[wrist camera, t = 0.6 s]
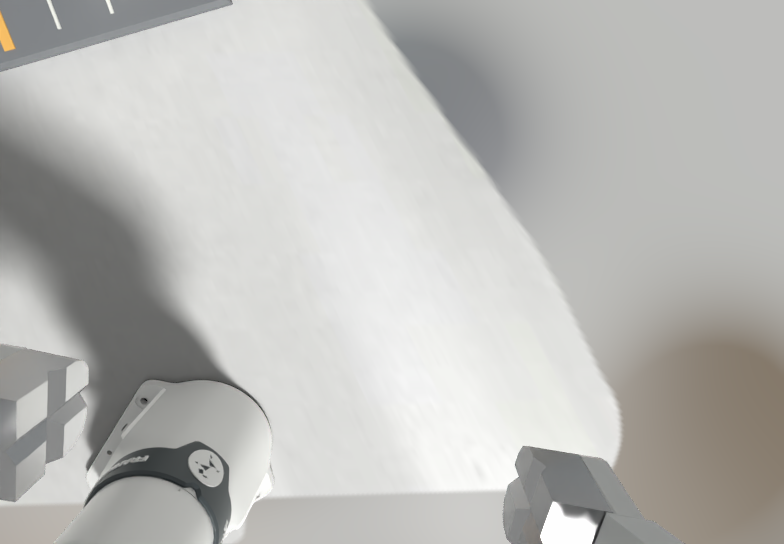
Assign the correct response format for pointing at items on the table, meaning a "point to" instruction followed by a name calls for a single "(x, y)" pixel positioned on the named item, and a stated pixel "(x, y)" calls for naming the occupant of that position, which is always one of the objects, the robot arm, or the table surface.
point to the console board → (81, 24)
